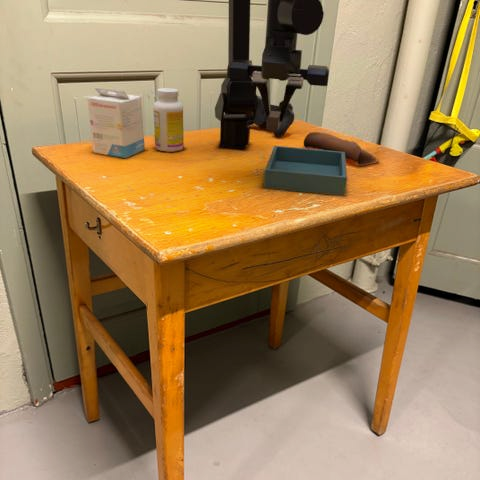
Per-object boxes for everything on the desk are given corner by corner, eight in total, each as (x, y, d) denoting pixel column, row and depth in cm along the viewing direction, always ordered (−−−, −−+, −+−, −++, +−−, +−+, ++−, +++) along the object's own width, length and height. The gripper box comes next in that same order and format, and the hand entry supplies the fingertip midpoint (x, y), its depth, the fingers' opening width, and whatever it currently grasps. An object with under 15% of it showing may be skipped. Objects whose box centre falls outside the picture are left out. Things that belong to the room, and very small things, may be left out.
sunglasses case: (381, 160, 121) (377, 136, 116) (362, 179, 120) (356, 156, 115) (326, 142, 133) (319, 119, 128) (307, 159, 131) (300, 137, 127)
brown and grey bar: (277, 131, 99) (278, 117, 98) (266, 130, 100) (267, 116, 98) (283, 118, 109) (284, 106, 108) (272, 117, 109) (273, 105, 108)
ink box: (145, 150, 120) (142, 87, 113) (124, 159, 113) (119, 93, 106) (115, 144, 123) (110, 83, 115) (92, 152, 116) (85, 87, 109)
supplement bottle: (188, 147, 124) (188, 89, 117) (176, 154, 119) (175, 93, 112) (162, 143, 126) (161, 86, 119) (149, 150, 120) (147, 90, 113)
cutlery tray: (263, 188, 102) (265, 169, 100) (272, 161, 117) (274, 145, 116) (343, 195, 100) (347, 177, 98) (342, 168, 116) (344, 151, 114)
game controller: (292, 145, 140) (305, 109, 138) (280, 137, 134) (294, 98, 133) (244, 134, 148) (256, 99, 147) (231, 125, 142) (243, 89, 141)
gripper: (222, 29, 88) (220, 125, 96) (333, 36, 86) (320, 134, 94) (233, 25, 97) (230, 113, 106) (334, 32, 95) (322, 121, 104)
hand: (274, 120), depth 102 cm, fingers closed on brown and grey bar, 2 cm apart
